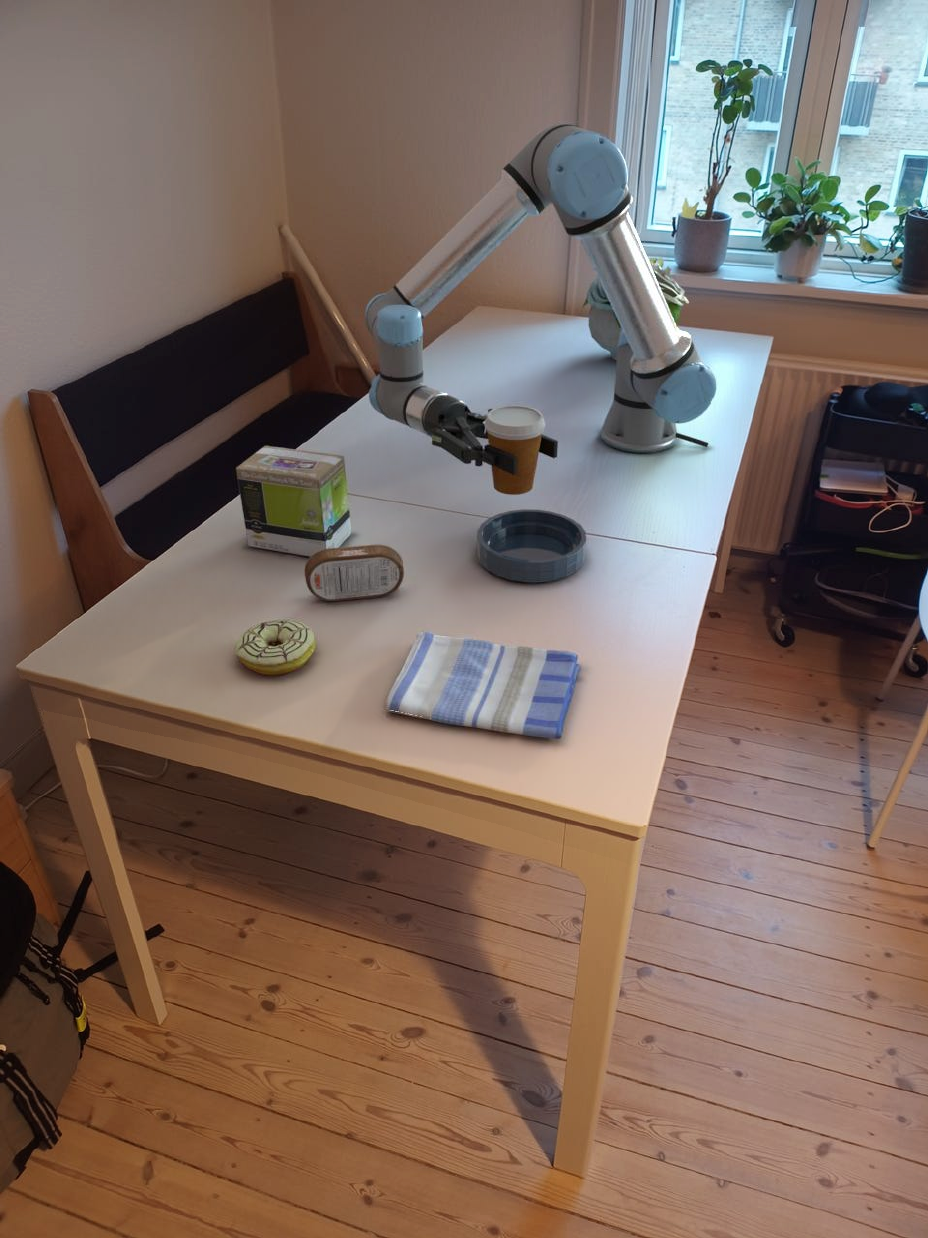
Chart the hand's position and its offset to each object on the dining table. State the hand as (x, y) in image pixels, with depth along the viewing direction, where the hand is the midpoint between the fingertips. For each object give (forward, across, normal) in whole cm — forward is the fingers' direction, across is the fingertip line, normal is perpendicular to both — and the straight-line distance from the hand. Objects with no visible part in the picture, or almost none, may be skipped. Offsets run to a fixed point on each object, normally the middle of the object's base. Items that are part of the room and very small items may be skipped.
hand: (535, 457), depth 144 cm
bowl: (0, 0, -18) cm, 18 cm away
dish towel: (+20, +29, -18) cm, 40 cm away
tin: (-10, +28, -18) cm, 35 cm away
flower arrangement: (-53, -88, -18) cm, 104 cm away
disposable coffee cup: (-5, 0, -7) cm, 8 cm away
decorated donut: (-5, +46, -18) cm, 50 cm away
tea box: (-31, +25, -18) cm, 43 cm away
